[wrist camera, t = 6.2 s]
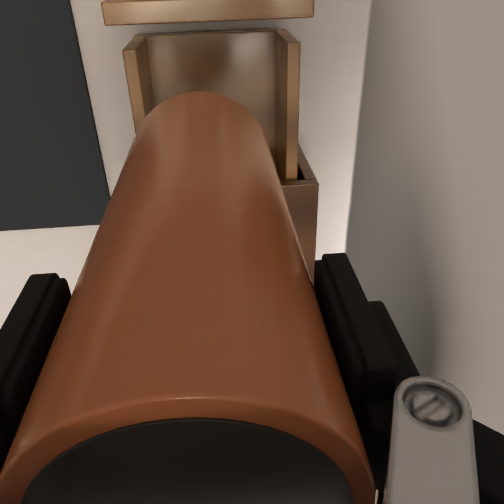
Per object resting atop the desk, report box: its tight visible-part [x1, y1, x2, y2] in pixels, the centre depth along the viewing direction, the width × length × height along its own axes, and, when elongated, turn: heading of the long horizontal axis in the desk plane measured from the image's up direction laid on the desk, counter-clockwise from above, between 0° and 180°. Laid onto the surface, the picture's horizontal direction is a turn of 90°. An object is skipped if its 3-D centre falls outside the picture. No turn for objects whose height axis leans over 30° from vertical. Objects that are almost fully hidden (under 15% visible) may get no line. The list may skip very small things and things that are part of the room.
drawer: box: [101, 0, 314, 181], centre depth 32 cm, size 18×12×7 cm
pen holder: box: [0, 92, 376, 504], centre depth 14 cm, size 6×6×16 cm
